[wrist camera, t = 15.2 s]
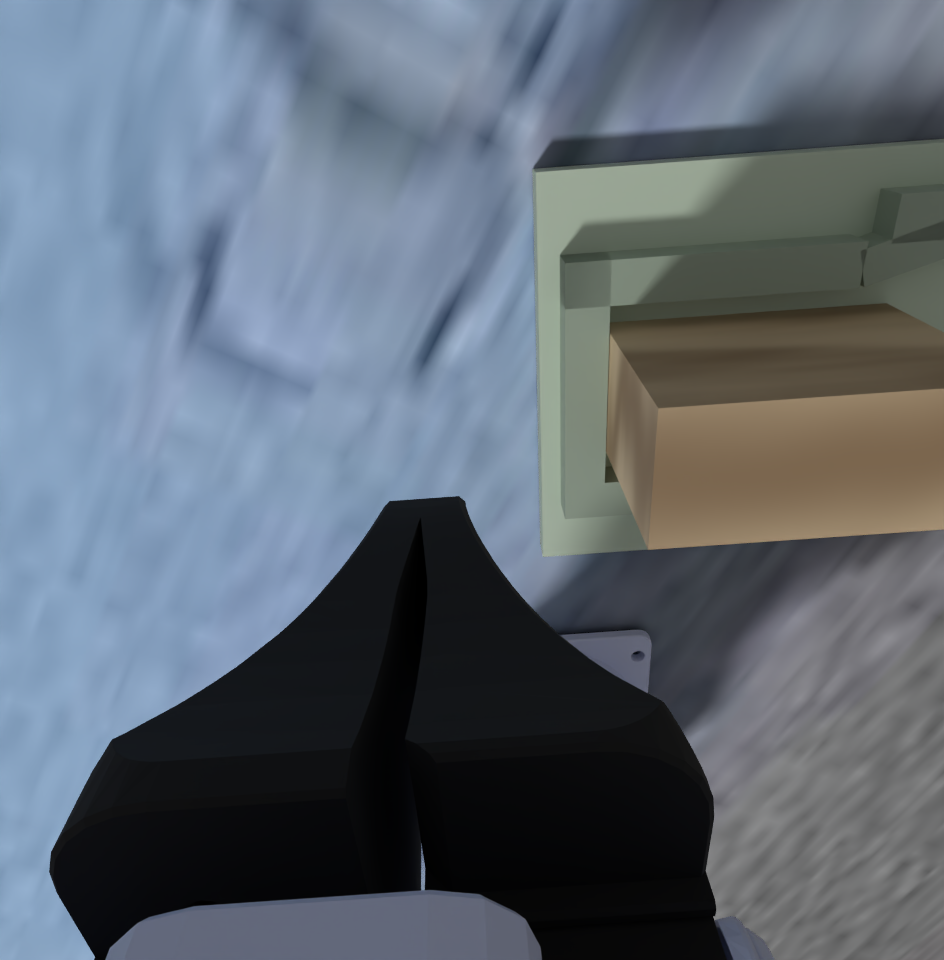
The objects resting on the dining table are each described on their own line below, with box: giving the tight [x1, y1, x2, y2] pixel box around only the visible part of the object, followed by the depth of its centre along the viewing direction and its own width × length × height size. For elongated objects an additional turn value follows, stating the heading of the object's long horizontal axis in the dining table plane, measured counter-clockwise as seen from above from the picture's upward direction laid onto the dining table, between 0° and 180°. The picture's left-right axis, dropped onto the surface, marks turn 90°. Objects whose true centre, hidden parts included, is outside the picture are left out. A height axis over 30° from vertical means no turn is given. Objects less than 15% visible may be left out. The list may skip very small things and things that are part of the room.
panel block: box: [606, 303, 944, 550], centre depth 18 cm, size 4×8×6 cm, turn 94°
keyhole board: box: [533, 139, 944, 557], centre depth 21 cm, size 12×19×2 cm, turn 94°
